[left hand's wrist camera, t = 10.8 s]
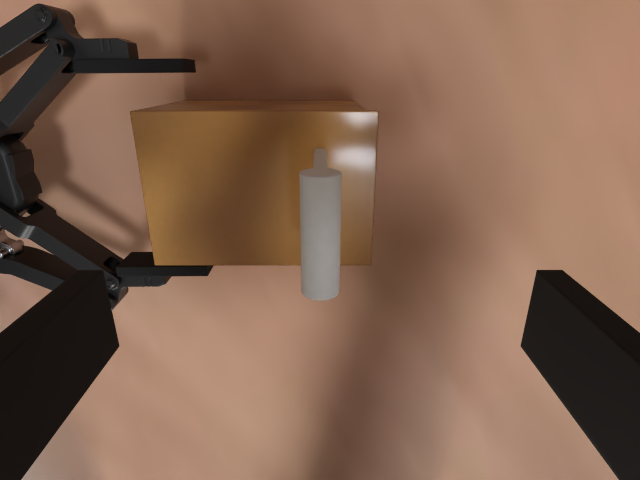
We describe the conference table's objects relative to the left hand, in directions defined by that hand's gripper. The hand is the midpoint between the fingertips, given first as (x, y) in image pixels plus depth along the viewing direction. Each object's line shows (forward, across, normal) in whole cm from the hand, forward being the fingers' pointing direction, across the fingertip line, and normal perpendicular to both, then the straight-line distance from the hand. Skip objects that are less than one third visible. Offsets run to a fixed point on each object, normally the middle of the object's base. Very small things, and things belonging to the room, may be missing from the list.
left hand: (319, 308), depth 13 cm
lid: (+14, +4, 0) cm, 15 cm away
